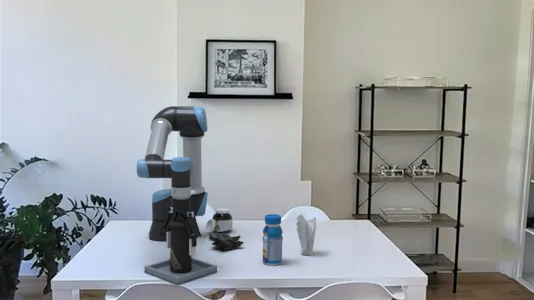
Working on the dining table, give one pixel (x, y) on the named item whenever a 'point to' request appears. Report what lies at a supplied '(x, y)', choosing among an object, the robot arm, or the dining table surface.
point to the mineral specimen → (225, 241)
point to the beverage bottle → (272, 240)
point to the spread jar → (220, 222)
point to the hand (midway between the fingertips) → (181, 251)
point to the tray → (164, 273)
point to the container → (179, 248)
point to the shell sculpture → (306, 234)
